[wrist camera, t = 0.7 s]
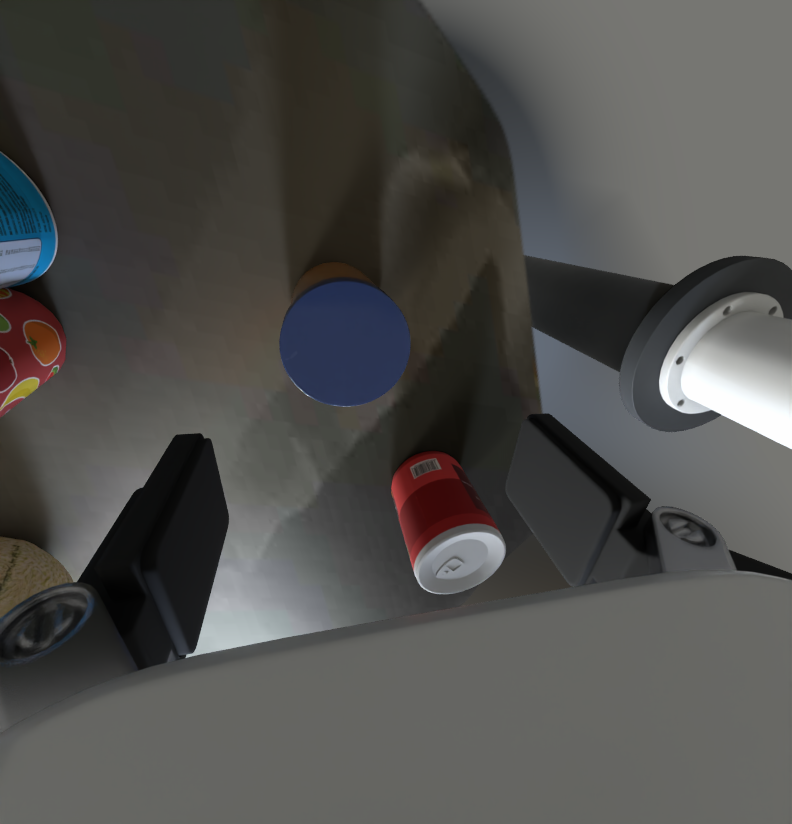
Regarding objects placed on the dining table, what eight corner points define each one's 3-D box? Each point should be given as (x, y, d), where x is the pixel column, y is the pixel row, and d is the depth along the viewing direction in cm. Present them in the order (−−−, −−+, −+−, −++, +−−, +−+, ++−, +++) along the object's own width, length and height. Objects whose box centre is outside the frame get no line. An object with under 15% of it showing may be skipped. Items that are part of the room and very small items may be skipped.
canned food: (375, 493, 38) (397, 586, 28) (418, 437, 35) (456, 518, 26) (430, 513, 41) (466, 602, 32) (472, 463, 39) (525, 543, 29)
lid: (392, 261, 19) (398, 265, 18) (415, 378, 23) (421, 387, 22) (260, 295, 19) (257, 301, 17) (305, 409, 22) (305, 420, 21)
